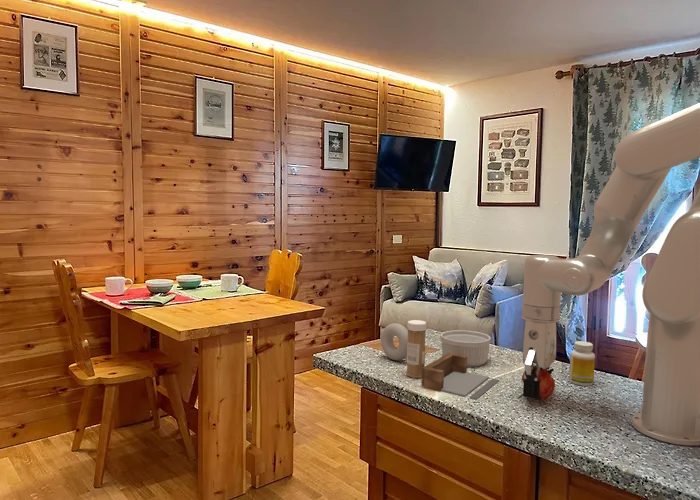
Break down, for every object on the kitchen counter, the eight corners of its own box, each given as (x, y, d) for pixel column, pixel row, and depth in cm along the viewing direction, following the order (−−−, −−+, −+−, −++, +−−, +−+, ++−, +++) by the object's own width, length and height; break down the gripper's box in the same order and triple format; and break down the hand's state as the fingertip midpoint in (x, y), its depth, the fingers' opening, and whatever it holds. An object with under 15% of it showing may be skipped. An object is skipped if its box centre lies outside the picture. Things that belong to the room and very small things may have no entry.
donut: (414, 363, 136) (415, 325, 136) (405, 365, 134) (406, 327, 133) (386, 354, 144) (387, 319, 143) (377, 357, 141) (378, 321, 140)
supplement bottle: (565, 378, 127) (567, 340, 126) (586, 378, 127) (589, 340, 126) (575, 386, 121) (577, 346, 120) (597, 386, 122) (600, 346, 121)
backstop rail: (466, 373, 129) (467, 356, 129) (440, 391, 116) (441, 372, 116) (448, 369, 132) (449, 352, 131) (421, 386, 119) (421, 368, 118)
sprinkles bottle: (428, 376, 126) (430, 322, 125) (414, 379, 124) (416, 324, 122) (416, 371, 130) (417, 318, 129) (402, 374, 127) (403, 320, 126)
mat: (488, 378, 126) (488, 376, 126) (465, 396, 113) (465, 395, 113) (456, 371, 130) (456, 370, 130) (429, 388, 118) (430, 386, 118)
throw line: (499, 380, 124) (499, 379, 124) (476, 399, 112) (476, 398, 112) (492, 379, 125) (492, 378, 125) (469, 397, 113) (469, 397, 113)
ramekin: (429, 359, 140) (430, 334, 139) (458, 351, 149) (459, 327, 148) (471, 372, 130) (472, 345, 130) (499, 362, 139) (500, 336, 138)
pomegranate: (533, 415, 109) (571, 388, 109) (512, 387, 110) (550, 359, 109) (522, 405, 117) (559, 379, 117) (503, 379, 117) (539, 353, 117)
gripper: (548, 322, 102) (543, 408, 104) (567, 308, 117) (563, 384, 118) (510, 317, 107) (506, 400, 108) (533, 304, 121) (529, 377, 123)
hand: (536, 391), depth 113 cm, fingers closed on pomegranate, 7 cm apart
